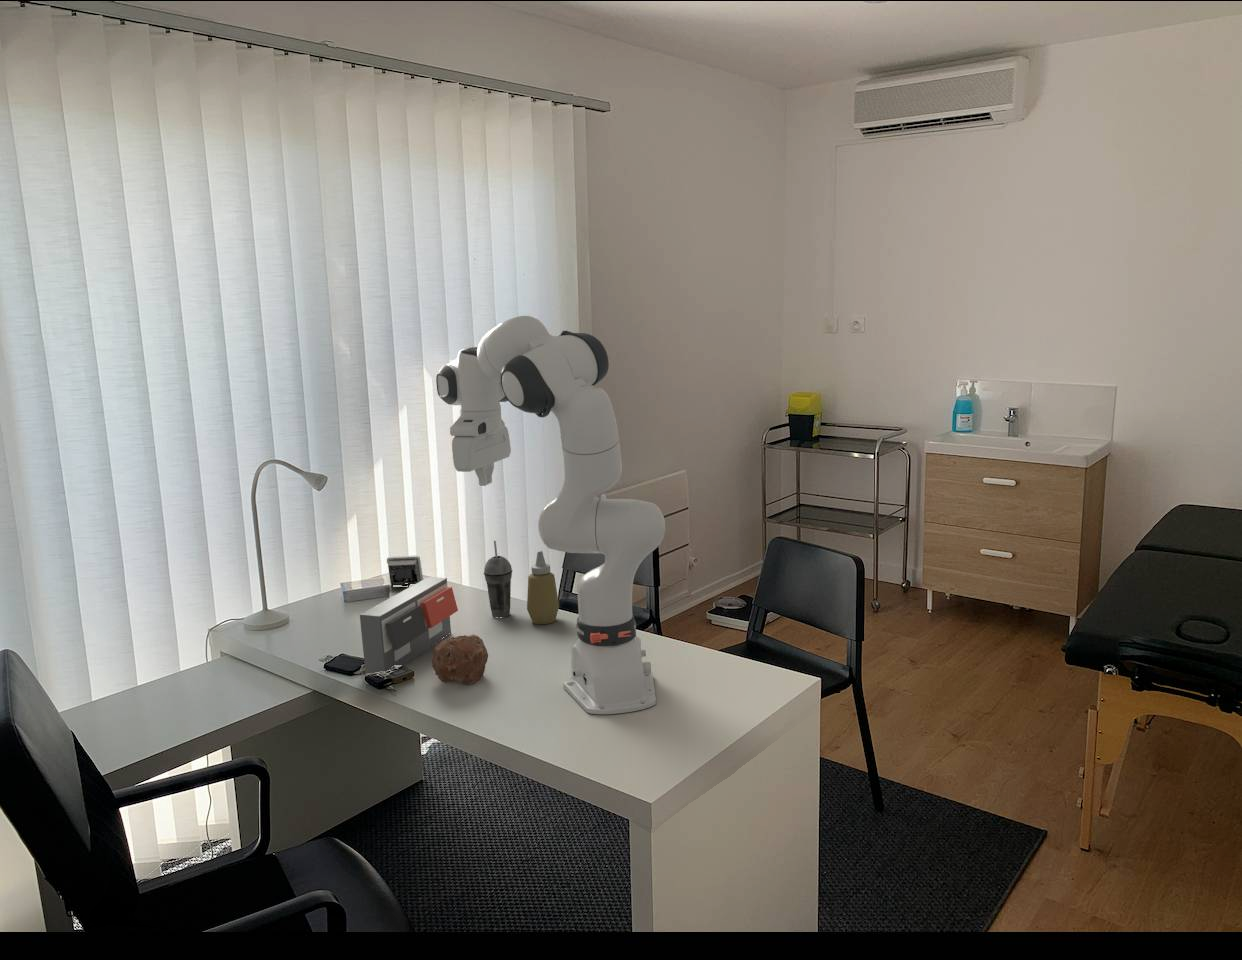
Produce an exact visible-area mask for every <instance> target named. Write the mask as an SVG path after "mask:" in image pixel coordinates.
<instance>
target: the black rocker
mask: <svg viewBox="0 0 1242 960" xmlns="http://www.w3.org/2000/svg"><path fill="white" fill-rule="evenodd" d="M386 627H387V631H388V635H389V638H390V642H391V645H392V649H393V650H398V649H400V648H401V647H403V646H404V645H406V644H407V643H409V642H410V641H412V640H414V639H415V638H417V637H418V636H420V635H421V634H423V633H424V632H426V631H427V628H426V624H425V621H424V617H423V613H422V610H421V606H415V607H414V608H412V609H410V610H409V611H407V612H405V613H403V614H402V615H400V616H398V617H397V618H395V619H393V620H392V621H390V622H388V623H386Z"/></svg>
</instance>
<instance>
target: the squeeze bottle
mask: <svg viewBox="0 0 1242 960" xmlns="http://www.w3.org/2000/svg"><path fill="white" fill-rule="evenodd" d="M530 568H531V573H530V574H529V575H528V578H527V598H526V599H527V600H526V602H527V603H526V610H527V613H528V615H529V617H530V620H531V622H532V623H533V624H535V625H548V624H552V623H554V622H556V619H557V616H558V612H559V608H560V602H559V596H558V595H559V594H558V590H557V583H556V578H555V574H554V573H552V572H551V564H549V563H546V560H545V557H544V553H543V551H542V550H538V551H537V553H536V559H535V564H533V565H531V567H530Z"/></svg>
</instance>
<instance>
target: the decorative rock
mask: <svg viewBox="0 0 1242 960" xmlns="http://www.w3.org/2000/svg"><path fill="white" fill-rule="evenodd" d="M488 659H489V652H488V650H487V648H486V646H485V644H484V640H483V639H482V638H481V637H479V636H478V635H475V634H471V635H465V634H464V635H458V636H456V637H454V636H451V637H450V638H447V639H446V638H445V639H442V640H441V641H439V643H438V644H436V646H435V647H434V648H433V650H432V656H431V659H430V660H431V663H430V664H431V667H432V668H433V670H434V672H435V673H434V675H435V676H437V678H438V680H439V682H442V683H448V682H450V683H451V682H454V683H460V684H464V685H466V684H467V685H471V684H473V683H474V682H478V681H479V680H480V679H481V678H483V677H484V674H485V671H486V664H487V663H488Z"/></svg>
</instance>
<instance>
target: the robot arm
mask: <svg viewBox="0 0 1242 960" xmlns="http://www.w3.org/2000/svg"><path fill="white" fill-rule="evenodd" d="M609 364H610V363H609V355H608V352H607V350H606V347H605V346H604V344H603V342H601V341H600V339H598V338H597V337H596V336H594V335H593V334H589V333H586V332H583V333H582V332H572V331H569V330H562V331H561V332H560V334H559V335H552V334H550V333H549V331H548V330H547V327H546V326H545V325H544V323H542V321H540V320H539V319H538V318H536V317H533V316H529V315H520V316H515V317H512V318H509V319H507V320H505V321H503V322H501V323H499V324H497V325H496V326H495V327H493V328H492V329H491V330H489V331H488V332H487V333H485V335H484V336H483V337H482V338H481V340H480V341H479V343H478V345H477V346H472V347H471V346H470V347H465V348H462V349H460V350H459V351H458V354H457V357H456V358H455V359H454V360H453V361H451V362H450V363H447V364H444V365H442V367H441V368H440V369H439V371H438V372H437V374H436V377H435V378H436V379H435V380H436V383H435V384H436V391H437V395H438V397H439V398H440V399H441V400H442V401H443V402H444V403H445V404H448V405H451V406H460V411H459V413H460V414H459V416H458V417H457V419H456V420H455V421H454V422H453V423H452V424H451V425H450V427H449V435H450V437H451V436H452V437H453V438H452V442H451V453H452V462H453V467H454V469H455V470H456V471H457V472H460V473H462V472H463V473H464V472H465V473H467V472H473V471H474V473H475V474H476V476H477V478H478V485H479V486H481V487H485V486H488V485H490V484H492V483H493V472H494V469H495V463H497V462H499V461H502V460H504V459H508V458H509V457H510V455H511V451H512V450H511V447H512V446H511V440H510V433H509V430H508V427H507V426H506V423H505V421H504V420H503V419H502V407H501V403H507V402H509V403H510V404H511V405H512V406H513V407H515V409H516V408H517V409H519V410H520V411H523V412H525V413H528V414H535V415H536V416H537V417H539V418H546V417H548V416H549V414H550V413H552V414H554V416H555V417H556V418H557V421H558V424H559V425H558V426H559V431H560V439H561V447H562V448H561V449H562V450H561V451H562V455H563V457H562V458H563V465H564V466H563V467H564V468H563V469H564V480H563V486H562V487H561V490H560V491H559V493H558V494H557V495H556V497H555V498H554V499H552V500H551V501H550V502H548V503H547V504H546V505H545V506H544V508H542V509H543V510H542V511H541V512H540V515H539V518H538V534H539V536H540V539H541V541H542V542H543V544H544V545H545V546H546V547H547V548H548V549H551V550H554V551H560V552H563V553H568V554H602V555H604V563H603V564H601V565H599V566H597V567H595V568H592V569H590V570H588V571H587V572H586V573H584V574H583V576H581V578H580V579H579V581H578V583H577V588H576V589H577V591H576V592H577V609H578V617H577V618H576V632H577V633H576V634H577V637H578V638H577V639H576V641H575V643H574V644H572V646H571V647H570V668H571V669H570V676H571V677H570V678H568V679H565V680H564V681H563V689H565V691H566V692H567V693H568V694H569V695H570V696H571V697H572V698H573V699H574V700H575V701H576V703H578V704H579V706H580V707H581V708H582V709H583V710H584V711H585V712H586V713H588V714H590V715H591V714H593V715H615V714H625V713H631V712H637V711H641V710H645V709H649V708H652V707H653V706H655V705H657V698H656V692H655V683H654V676H653V672H652V665H651V664H652V663H651V661H643V657H644V658H645V657H647V651H646V649H642V641H641V640H642V639H641V638H640V637H638V636H637V632H636V631H637V629H636V628H637V623H636V620H635V616H634V614H633V585H634V578H635V575H636V573H637V570H638V568H639V566H640V565H641V563H642V562H643V561H644V559H645V558H647V556H648V555H650V554H651V553H652V552H654V551H655V550H656V549H657V548H658V547H659V546H660V544H661V543H662V542H663V540H664V536H665V533H666V520H665V517H664V513H663V512H662V510H661V509H660V507H659V506H658V505H657V504H656V503H654V502H650V501H645V500H640V499H635V498H600V497H598V495H600V494H602V493H605V492H606V491H608V490H610V489H611V488H613V487H614V486H615V485H616V484H617V483H618V482H619V481H620V479H621V476H622V474H623V463H622V462H623V459H622V454H621V443H620V435H619V429H618V428H619V427H618V424H617V423H618V422H617V419H616V414H615V411H614V408H613V404H612V401H611V398H610V396H609V394H608V393H607V392H606V390H604V389H603V388H602V387H599V386H597V385H596V384H598V383H600V382H601V381H602V380H603V379H604V378H605V377H606V376H607V374H608V371H609V366H610V365H609Z"/></svg>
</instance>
